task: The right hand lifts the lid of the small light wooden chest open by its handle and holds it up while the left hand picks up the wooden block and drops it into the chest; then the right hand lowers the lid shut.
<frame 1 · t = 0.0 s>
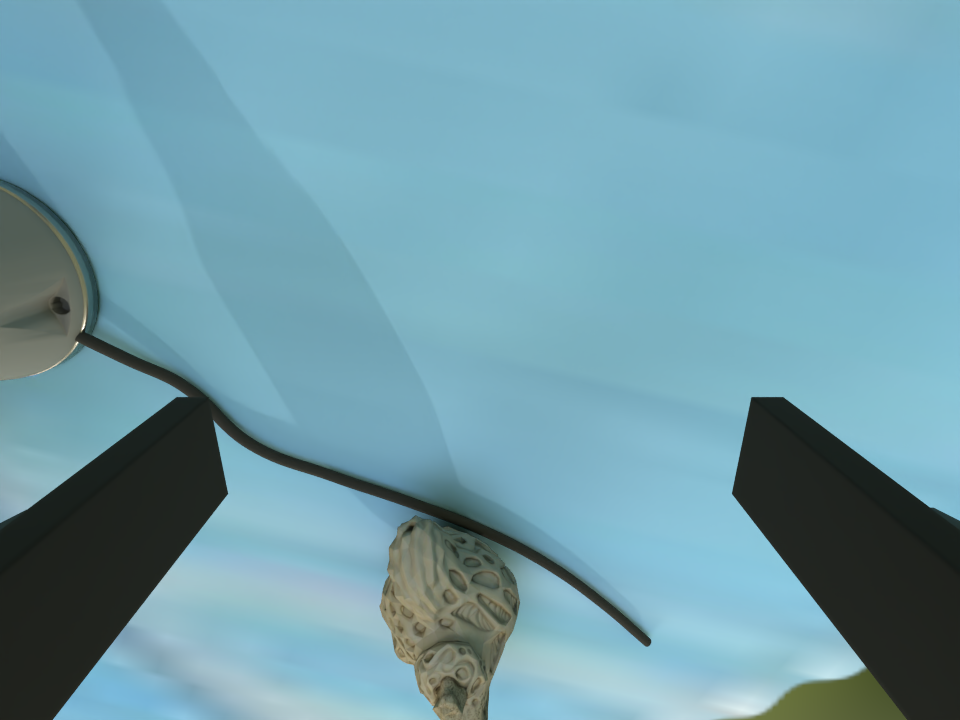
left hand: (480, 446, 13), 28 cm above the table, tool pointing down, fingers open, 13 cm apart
teapot: (455, 562, 49), on the table
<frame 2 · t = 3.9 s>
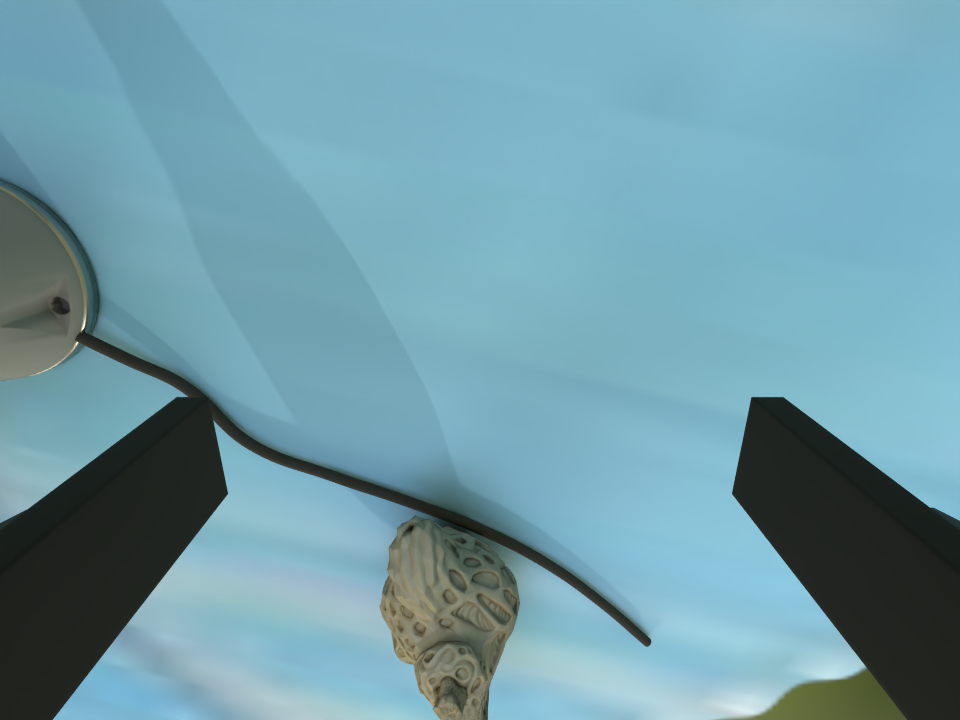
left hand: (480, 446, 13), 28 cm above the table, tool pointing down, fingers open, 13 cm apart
teapot: (455, 562, 49), on the table
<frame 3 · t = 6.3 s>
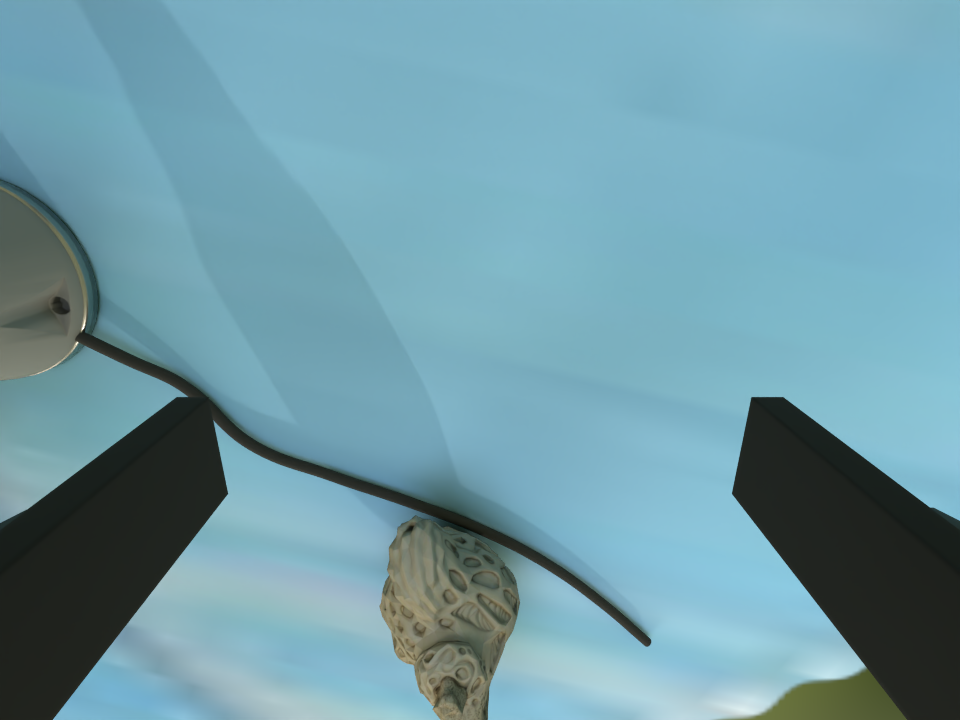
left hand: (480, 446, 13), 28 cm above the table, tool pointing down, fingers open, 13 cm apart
teapot: (455, 562, 49), on the table
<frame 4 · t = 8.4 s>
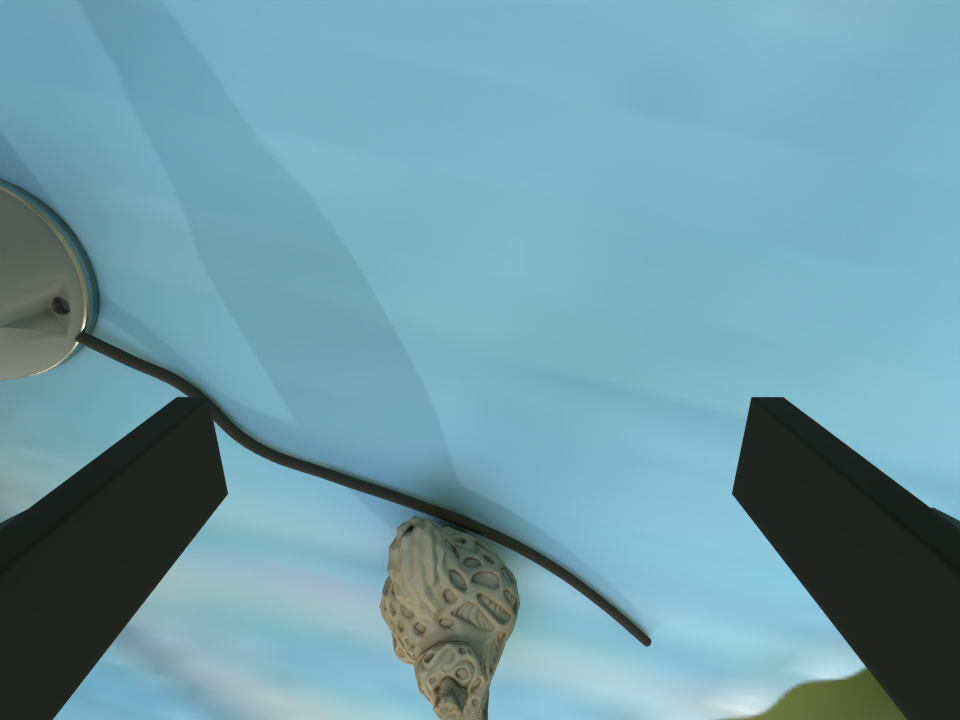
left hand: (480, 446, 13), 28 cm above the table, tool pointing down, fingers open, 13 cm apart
teapot: (455, 562, 49), on the table
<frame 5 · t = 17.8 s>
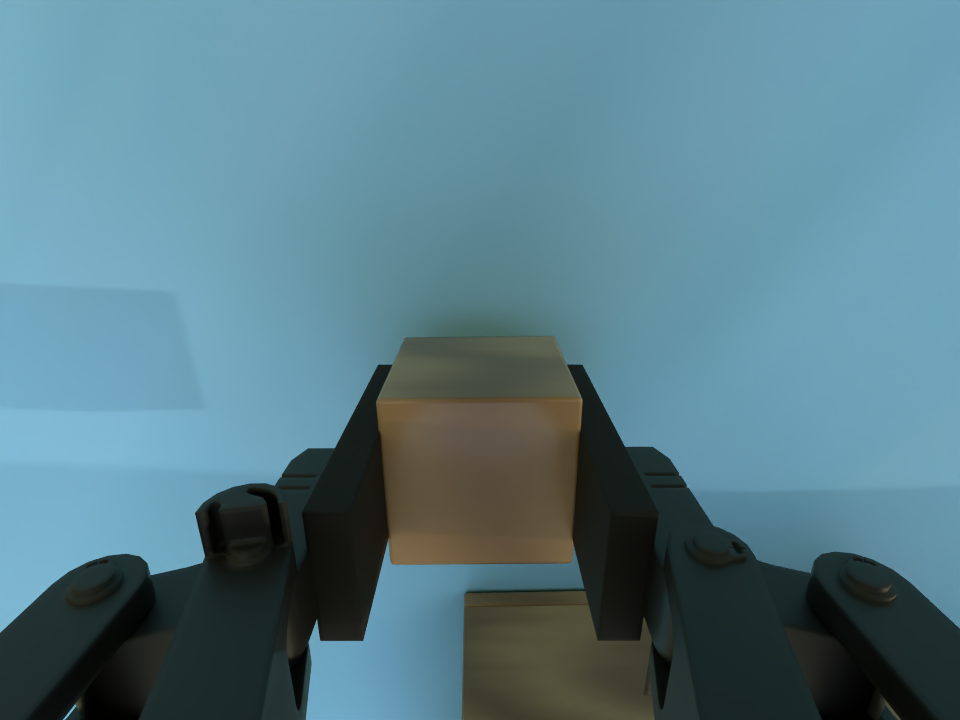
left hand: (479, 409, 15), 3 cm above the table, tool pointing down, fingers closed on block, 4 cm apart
chest: (651, 680, 22), on the table
block: (480, 404, 15), point 3 cm above the table, touching left hand
when the left hand's fingers open (17 cm above the table, at t = 20.9 s): block drops 16 cm, resting on chest.
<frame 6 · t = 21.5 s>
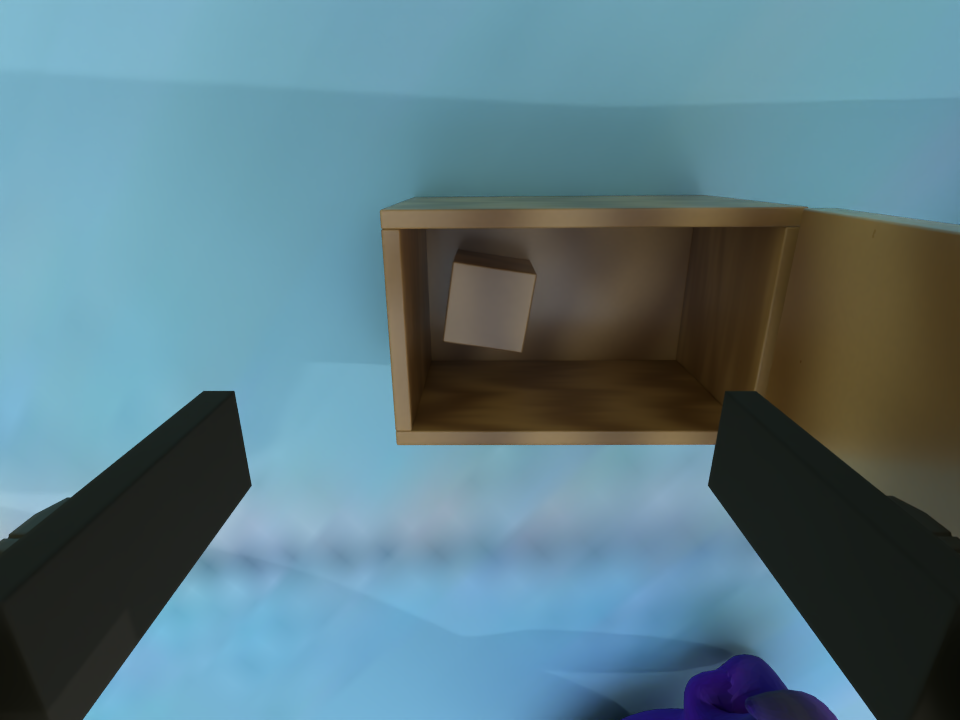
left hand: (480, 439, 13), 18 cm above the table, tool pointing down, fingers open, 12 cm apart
chest: (554, 286, 30), on the table, touching block
block: (488, 290, 30), point 1 cm above the table, touching chest
toy: (662, 693, 42), on the table
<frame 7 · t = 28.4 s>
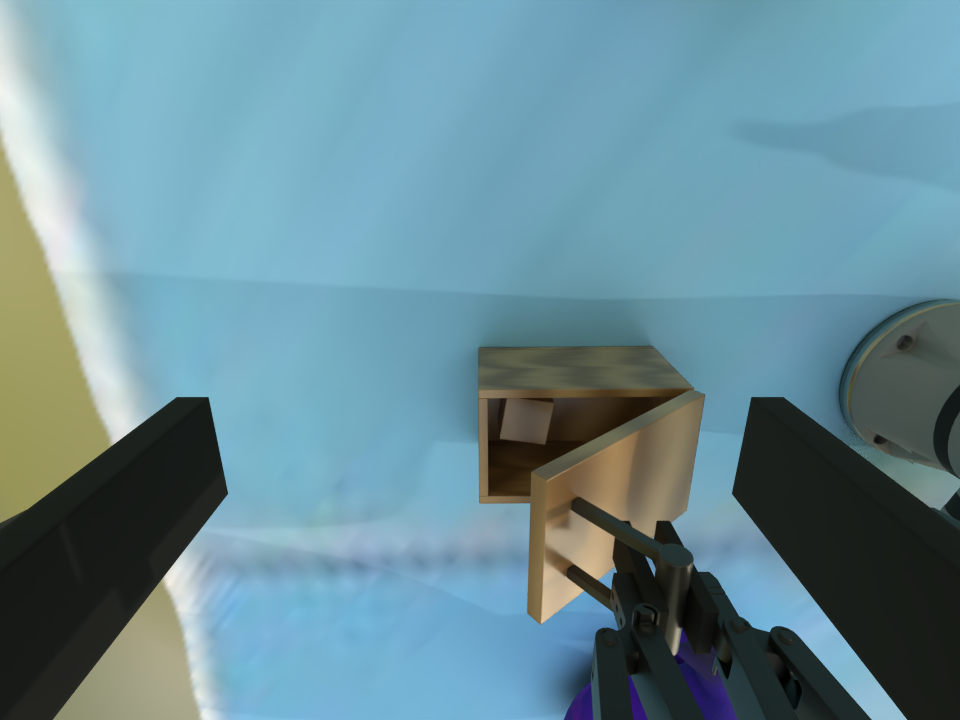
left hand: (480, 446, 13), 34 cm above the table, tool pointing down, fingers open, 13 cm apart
lid: (671, 520, 32), point 18 cm above the table, hinge at 40.0°, touching right hand
chest: (563, 396, 49), on the table, touching block
block: (522, 400, 48), point 1 cm above the table, touching chest
toy: (635, 654, 61), on the table
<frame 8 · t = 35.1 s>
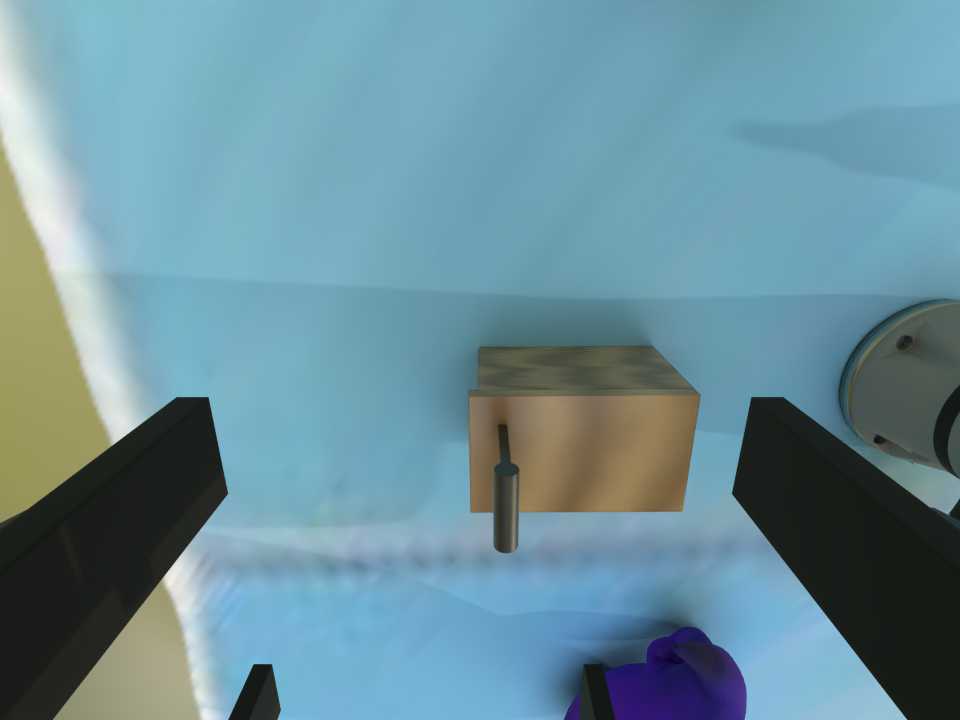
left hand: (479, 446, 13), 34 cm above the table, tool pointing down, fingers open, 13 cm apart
lid: (587, 478, 36), point 14 cm above the table, hinge at -0.1°
chest: (563, 396, 49), on the table, touching block
toy: (635, 654, 61), on the table
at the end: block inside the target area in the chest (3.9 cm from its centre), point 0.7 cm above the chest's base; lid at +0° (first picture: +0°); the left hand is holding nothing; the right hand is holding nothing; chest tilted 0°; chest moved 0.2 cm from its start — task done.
